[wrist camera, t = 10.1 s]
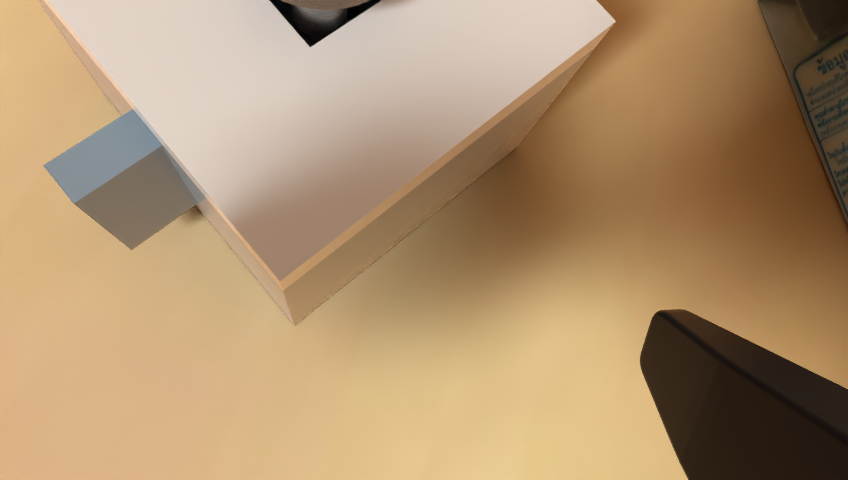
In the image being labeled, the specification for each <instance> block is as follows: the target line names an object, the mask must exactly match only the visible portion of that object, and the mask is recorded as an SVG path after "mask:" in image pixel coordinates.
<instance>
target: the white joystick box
mask: <svg viewBox="0 0 848 480" xmlns="http://www.w3.org/2000/svg"><path fill="white" fill-rule="evenodd" d="M38 1H39V3H40V4H41V6H42V7H43V8H44V10H45V11H46V13H47V14H48V15H49V17H50V18H51V20H52V21H53V23H54V24H55V25H56V27H57V28H58V30H59V31H60V33H61V34H62V35H63V37H64V38H65V40H66V41H67V42H68V44H69V45H70V47H71V48H72V50H73V51H74V52H75V54H76V55H77V57H78V58H79V60H80V61H81V62H82V64H83V65H84V67H85V68H86V69H87V71H88V72H89V74H90V75H91V77H92V78H93V79H94V81H95V82H96V84H97V85H98V87H99V88H100V89H101V91H102V92H103V93H104V95H105V96H106V97H107V98H108V99H109V101H110V102H111V103H112V104H113V106H114V107H115V108H116V109H117V110H118V112H119V113H120V114H121V115H122V116H121V117H119V118H118V119H116V120H115V121H113V122H111V123H110V124H108V125H107V126H105V127H103V128H102V129H100V130H99V131H97V132H95V133H94V134H92V135H91V136H89V137H88V138H86V139H84V140H83V141H81V142H80V143H78V144H76V145H75V146H73V147H72V148H70V149H68V150H67V151H65V152H64V153H62V154H61V155H59V156H57V157H56V158H54V159H53V160H51V161H49V162H48V163H46V164H45V165H43V166H44V167H45V168H46V170H47V171H48V172H49V173H50V175H51V176H52V177H53V178H54V180H55V181H56V182H57V183H58V185H59V186H60V187H61V188H62V190H63V191H64V192H65V193H66V195H67V196H68V197H69V198H70V200H71V201H72V202H73V203H74V204H75V205H76V206H77V207H79V208H80V209H81V210H82V211H84V212H85V213H86V214H87V215H89V216H90V217H91V218H92V219H94V220H95V221H96V222H97V223H99V224H100V225H101V226H102V227H104V228H105V229H106V230H107V231H109V232H110V233H111V234H112V235H114V236H115V237H116V238H117V239H119V240H120V241H121V242H122V243H124V244H125V245H126V246H127V247H129V248H130V249H131V250H132V249H134V248H135V247H137V246H138V245H139V244H141V243H142V242H144V241H145V240H147V239H148V238H149V237H151V236H152V235H154V234H155V233H157V232H158V231H159V230H161V229H162V228H164V227H165V226H167V225H168V224H169V223H171V222H172V221H174V220H175V219H177V218H178V217H179V216H181V215H182V214H184V213H185V212H187V211H188V210H189V209H191V208H192V207H194V206H195V205H196V207H197V208H198V209H199V210H200V211H201V213H202V214H203V215H204V216H205V217H206V219H207V220H208V221H209V222H210V224H211V225H212V226H213V227H214V228H215V230H216V231H217V232H218V233H219V235H220V236H221V237H222V238H223V239H224V241H225V242H226V243H227V244H228V245H229V247H230V248H231V249H232V250H233V252H234V253H235V254H236V255H237V256H238V258H239V259H240V260H241V261H242V263H243V264H244V265H245V266H246V267H247V269H248V270H249V271H250V272H251V273H252V275H253V276H254V277H255V278H256V280H257V281H258V282H259V283H260V284H261V286H262V287H263V288H264V289H265V291H266V292H267V293H268V294H269V295H270V297H271V298H272V299H273V300H274V301H275V303H276V304H277V305H278V306H279V308H280V309H281V310H282V311H283V312H284V314H285V315H286V316H287V317H288V318H289V320H290V321H291V322H292V323H293V325H294V326H295V325H296V324H298V323H299V322H300V321H301V320H303V319H304V318H305V317H306V316H308V315H309V314H310V313H311V312H313V311H314V310H315V309H316V308H318V307H319V306H320V305H321V304H323V303H324V302H325V301H326V300H328V299H329V298H330V297H331V296H332V295H334V294H335V293H336V292H337V291H339V290H340V289H341V288H342V287H344V286H345V285H346V284H347V283H349V282H350V281H351V280H352V279H354V278H355V277H356V276H357V275H359V274H360V273H361V272H362V271H364V270H365V269H366V268H367V267H369V266H370V265H371V264H372V263H374V262H375V261H376V260H377V259H378V258H380V257H381V256H382V255H383V254H385V253H386V252H387V251H388V250H390V249H391V248H392V247H393V246H395V245H396V244H397V243H398V242H400V241H401V240H402V239H403V238H405V237H406V236H407V235H408V234H410V233H411V232H412V231H413V230H415V229H416V228H417V227H418V226H419V225H421V224H422V223H423V222H424V221H426V220H427V219H428V218H429V217H431V216H432V215H433V214H434V213H436V212H437V211H438V210H439V209H441V208H442V207H443V206H444V205H446V204H447V203H448V202H449V201H451V200H452V199H453V198H454V197H456V196H457V195H458V194H459V193H460V192H462V191H463V190H464V189H465V188H467V187H468V186H469V185H470V184H472V183H473V182H474V181H475V180H477V179H478V178H479V177H480V176H482V175H483V174H484V173H485V172H487V171H488V170H489V169H490V168H492V167H493V166H494V165H495V164H497V163H498V162H499V161H500V160H502V159H503V158H504V157H505V156H506V155H508V154H509V153H510V152H511V151H513V150H514V149H515V148H516V147H518V146H519V144H520V143H521V142H522V141H523V139H524V138H525V137H526V136H527V134H528V133H529V132H530V130H531V129H532V128H533V127H534V125H535V124H536V123H537V122H538V120H539V119H540V118H541V116H542V115H543V114H544V113H545V111H546V110H547V109H548V107H549V106H550V105H551V104H552V102H553V101H554V100H555V99H556V97H557V96H558V95H559V93H560V92H561V91H562V90H563V88H564V87H565V86H566V85H567V83H568V82H569V81H570V79H571V78H572V77H573V76H574V74H575V73H576V72H577V71H578V69H579V68H580V67H581V65H582V64H583V63H584V62H585V60H586V59H587V58H588V56H589V55H590V54H591V53H592V51H593V50H594V49H595V48H596V46H597V45H598V44H599V42H600V41H601V40H602V39H603V37H604V36H605V35H606V34H607V32H608V31H609V30H610V28H611V27H612V26H613V25H614V23H615V22H616V21H615V20H614V19H613V18H612V17H611V15H610V14H609V13H608V12H607V11H606V10H605V9H604V8H603V7H602V6H601V5H600V4H599V2H598V1H597V0H377V1H378V2H379V3H377V4H376V5H374V6H372V7H371V8H369V9H368V10H366V11H365V12H363V13H362V14H360V15H359V16H357V17H356V18H354V19H353V20H351V21H350V22H348V23H347V24H345V25H344V26H342V27H341V28H339V29H337V30H336V31H334V32H333V33H331V34H330V35H328V36H327V37H325V38H324V39H322V40H321V41H319V42H318V43H316V44H315V45H313V46H312V47H309V46H308V44H307V43H306V42H305V41H304V40H303V39H302V38H301V36H300V35H299V34H298V33H297V32H296V31H295V29H294V28H293V27H292V26H291V25H290V24H289V23H288V21H287V20H286V19H285V18H284V17H283V16H282V14H281V13H280V12H279V11H278V10H277V9H276V8H275V6H274V5H273V4H272V3H271V2H270V1H269V0H38Z"/></svg>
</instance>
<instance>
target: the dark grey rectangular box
mask: <svg viewBox="0 0 848 480" xmlns="http://www.w3.org/2000/svg"><path fill="white" fill-rule="evenodd" d="M758 3H759V6H760V8H761V10H762V13H763V15H764V18H765V21H766V23H767V26H768V28H769V31H770V33H771V35H772V38H773V40H774V43H775V45H776V48H777V50H778V52H779V55H780V57H781V60H782V62H783V65H784V67H785V70H786V73H787V75H788V78H789V81H790V83H791V86H792V89H793V92H794V94H795V97H796V100H797V102H798V105H799V108H800V110H801V113H802V115H803V118H804V121H805V123H806V126H807V129H808V131H809V133H810V136H811V138H812V140H813V143H814V145H815V147H816V150H817V152H818V154H819V157H820V159H821V161H822V164H823V166H824V168H825V171H826V173H827V176H828V178H829V181H830V183H831V185H832V188H833V190H834V193H835V195H836V198H837V200H838V202H839V205H840V207H841V210H842V212H843V214H844V217H845V219H846V221H847V224H848V0H758Z"/></svg>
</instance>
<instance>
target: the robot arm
mask: <svg viewBox="0 0 848 480" xmlns="http://www.w3.org/2000/svg"><path fill="white" fill-rule="evenodd" d="M640 365H641V370H642V373H643V375H644V378H645V380H646V383H647V385H648V388H649V390H650V393H651V395H652V397H653V400H654V402H655V405H656V407H657V410H658V412H659V414H660V417H661V419H662V422H663V424H664V427H665V429H666V432H667V434H668V436H669V439H670V441H671V444H672V446H673V448H674V451H675V453H676V455H677V457H678V460H679V462H680V464H681V466H682V468H683V470H684V472H685V474H686V476H687V478H688V480H848V389H846V388H844V387H842V386H840V385H838V384H836V383H834V382H832V381H830V380H828V379H826V378H824V377H821V376H819V375H817V374H815V373H813V372H811V371H809V370H807V369H805V368H803V367H801V366H799V365H797V364H795V363H793V362H791V361H789V360H787V359H785V358H783V357H781V356H779V355H777V354H775V353H772V352H770V351H768V350H766V349H764V348H762V347H760V346H758V345H756V344H754V343H752V342H750V341H748V340H746V339H744V338H742V337H740V336H738V335H736V334H734V333H732V332H730V331H728V330H726V329H723V328H721V327H719V326H717V325H715V324H713V323H711V322H709V321H707V320H705V319H703V318H701V317H699V316H697V315H695V314H693V313H691V312H689V311H686V310H682V309H677V310H660V311H658V312H656V313H655V314H654V316H653V317H652V320H651V323H650V326H649V329H648V332H647V335H646V338H645V342H644V345H643V348H642V351H641V355H640Z"/></svg>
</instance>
